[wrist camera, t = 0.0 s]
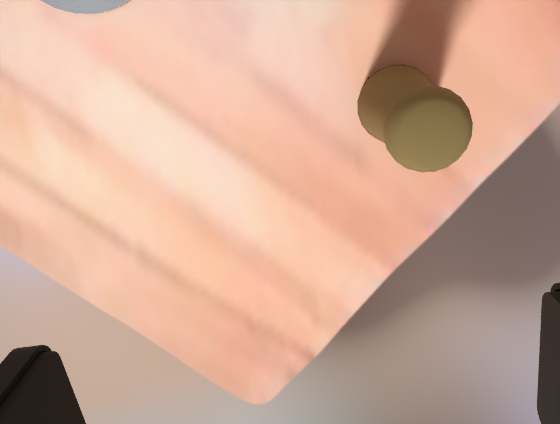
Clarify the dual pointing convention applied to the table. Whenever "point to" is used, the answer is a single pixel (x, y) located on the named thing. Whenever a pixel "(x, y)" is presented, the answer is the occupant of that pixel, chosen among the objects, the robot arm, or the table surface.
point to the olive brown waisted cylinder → (415, 118)
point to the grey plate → (86, 5)
